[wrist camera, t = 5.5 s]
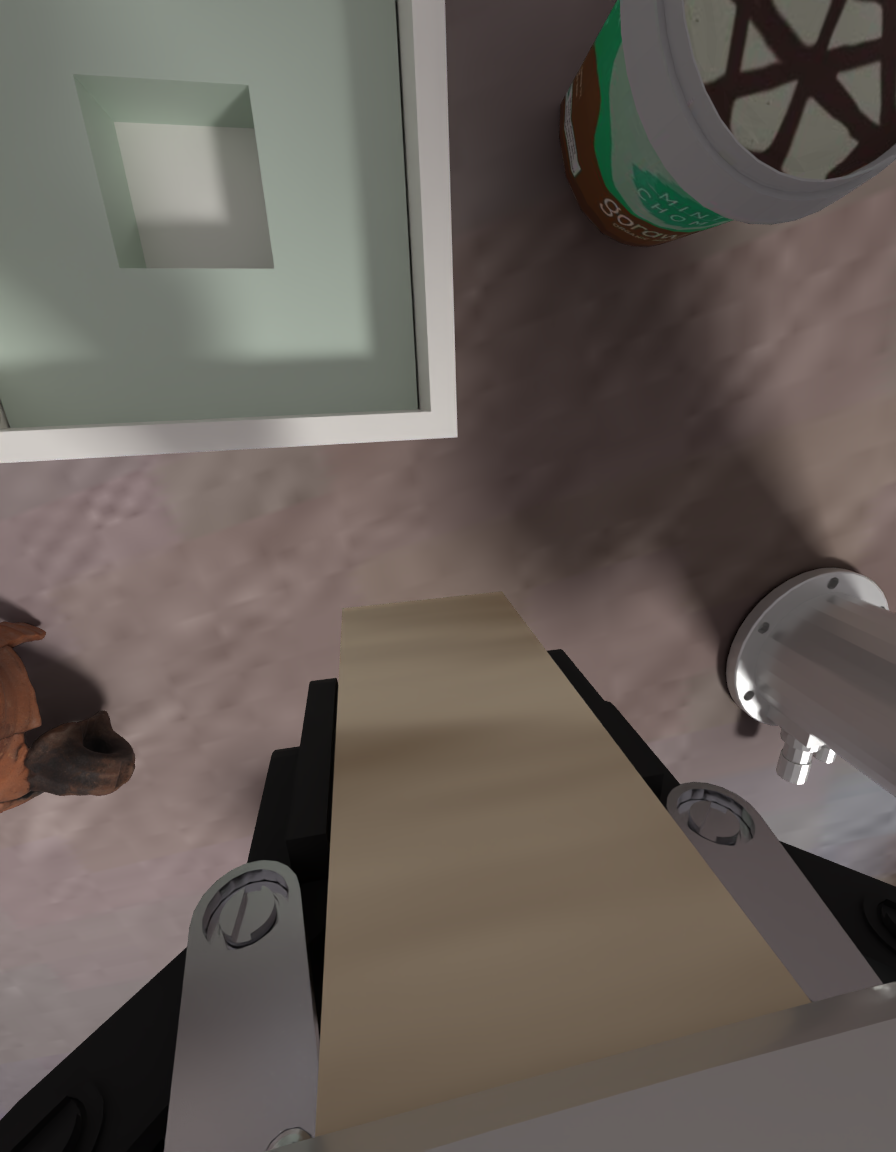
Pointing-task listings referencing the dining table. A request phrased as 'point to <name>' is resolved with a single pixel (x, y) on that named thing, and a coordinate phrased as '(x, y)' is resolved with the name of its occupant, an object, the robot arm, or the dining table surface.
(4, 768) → the brown looped sculpture
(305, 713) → the robot arm
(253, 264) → the open box
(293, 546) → the dining table surface
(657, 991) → the maple peg
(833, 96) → the food container
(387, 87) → the bore plate
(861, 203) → the dining table surface
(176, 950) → the dining table surface
